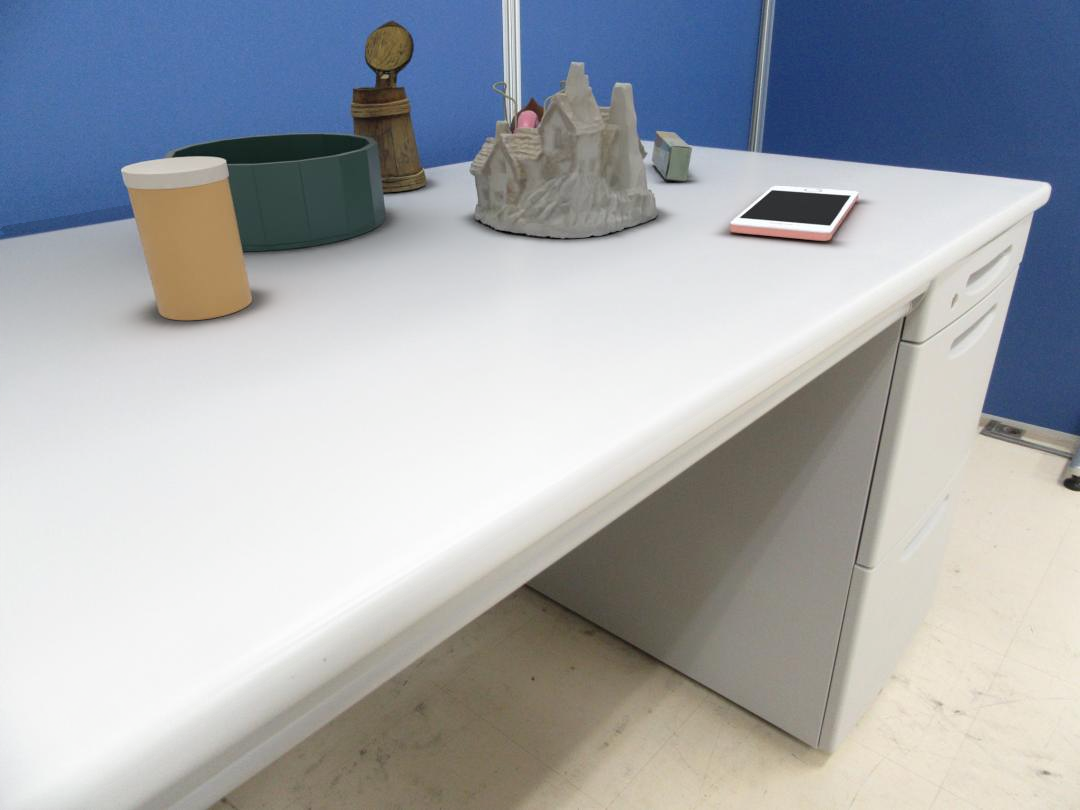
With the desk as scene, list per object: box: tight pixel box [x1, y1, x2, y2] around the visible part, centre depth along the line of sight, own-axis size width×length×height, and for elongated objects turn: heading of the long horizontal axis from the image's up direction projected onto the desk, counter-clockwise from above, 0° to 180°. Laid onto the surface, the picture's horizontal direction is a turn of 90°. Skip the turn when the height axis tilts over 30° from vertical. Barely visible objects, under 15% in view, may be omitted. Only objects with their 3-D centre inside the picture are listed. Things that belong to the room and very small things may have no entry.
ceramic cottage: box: [469, 61, 659, 240], centre depth 76 cm, size 16×16×15 cm
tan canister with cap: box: [120, 156, 253, 321], centre depth 55 cm, size 7×7×10 cm
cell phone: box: [729, 185, 860, 242], centre depth 77 cm, size 9×18×1 cm, turn 153°
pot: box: [163, 132, 387, 252], centre depth 78 cm, size 19×19×8 cm
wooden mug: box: [350, 20, 427, 194], centre depth 94 cm, size 9×14×18 cm, turn 175°
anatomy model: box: [492, 80, 566, 134], centre depth 100 cm, size 10×14×15 cm
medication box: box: [651, 130, 693, 183], centre depth 98 cm, size 12×3×4 cm, turn 1°
